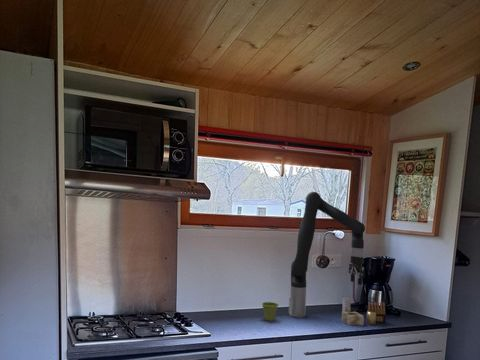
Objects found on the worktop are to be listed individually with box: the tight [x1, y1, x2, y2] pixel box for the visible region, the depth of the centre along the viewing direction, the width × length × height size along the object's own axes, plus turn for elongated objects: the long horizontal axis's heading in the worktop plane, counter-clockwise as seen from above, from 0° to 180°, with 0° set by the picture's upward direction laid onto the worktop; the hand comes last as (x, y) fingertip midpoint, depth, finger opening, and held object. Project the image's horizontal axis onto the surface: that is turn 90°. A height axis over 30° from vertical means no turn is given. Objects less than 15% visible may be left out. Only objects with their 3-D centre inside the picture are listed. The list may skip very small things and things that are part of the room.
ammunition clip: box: [367, 301, 387, 324], centre depth 220 cm, size 11×2×12 cm, turn 95°
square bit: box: [341, 297, 351, 313], centre depth 225 cm, size 3×3×12 cm
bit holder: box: [341, 311, 365, 326], centre depth 217 cm, size 9×9×5 cm
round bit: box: [366, 310, 377, 327], centre depth 215 cm, size 5×5×7 cm
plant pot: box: [261, 301, 279, 322], centre depth 215 cm, size 9×9×9 cm
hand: (356, 283), depth 223 cm, fingers open, 8 cm apart
